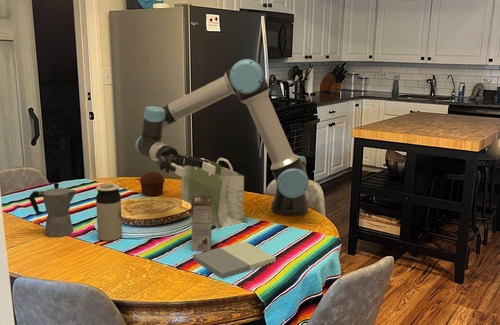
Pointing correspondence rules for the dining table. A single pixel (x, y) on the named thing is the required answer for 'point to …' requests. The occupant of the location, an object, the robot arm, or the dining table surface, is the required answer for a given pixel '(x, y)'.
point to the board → (233, 259)
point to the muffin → (152, 184)
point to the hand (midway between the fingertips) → (199, 171)
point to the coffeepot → (55, 210)
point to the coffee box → (201, 223)
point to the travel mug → (109, 212)
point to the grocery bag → (216, 192)
